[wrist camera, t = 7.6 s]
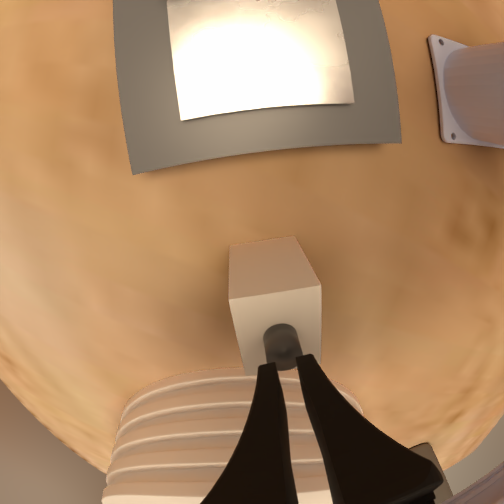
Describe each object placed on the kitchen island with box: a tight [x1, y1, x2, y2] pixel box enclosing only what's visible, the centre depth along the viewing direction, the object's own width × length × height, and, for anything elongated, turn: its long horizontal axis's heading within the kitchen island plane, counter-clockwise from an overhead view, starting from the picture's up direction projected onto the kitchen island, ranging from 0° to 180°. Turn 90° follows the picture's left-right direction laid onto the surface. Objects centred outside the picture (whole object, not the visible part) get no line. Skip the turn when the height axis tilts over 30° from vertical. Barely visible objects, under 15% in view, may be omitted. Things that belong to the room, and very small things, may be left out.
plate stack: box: [102, 367, 365, 504], centre depth 22 cm, size 28×28×12 cm
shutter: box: [167, 0, 355, 121], centre depth 9 cm, size 8×8×2 cm
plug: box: [228, 236, 322, 376], centre depth 15 cm, size 4×5×8 cm
